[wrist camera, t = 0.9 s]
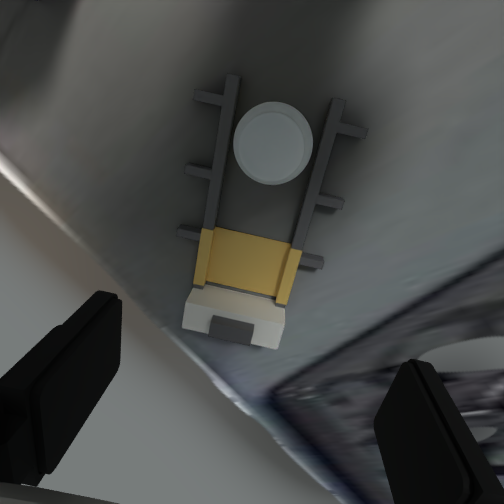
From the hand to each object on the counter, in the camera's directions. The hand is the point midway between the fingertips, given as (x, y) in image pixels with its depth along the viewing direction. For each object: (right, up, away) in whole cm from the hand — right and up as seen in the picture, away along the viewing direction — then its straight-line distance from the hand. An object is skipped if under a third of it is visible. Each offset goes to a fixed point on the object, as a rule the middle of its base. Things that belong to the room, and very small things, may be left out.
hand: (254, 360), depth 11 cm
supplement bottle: (+2, +13, +17) cm, 22 cm away
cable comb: (0, +7, +20) cm, 21 cm away
